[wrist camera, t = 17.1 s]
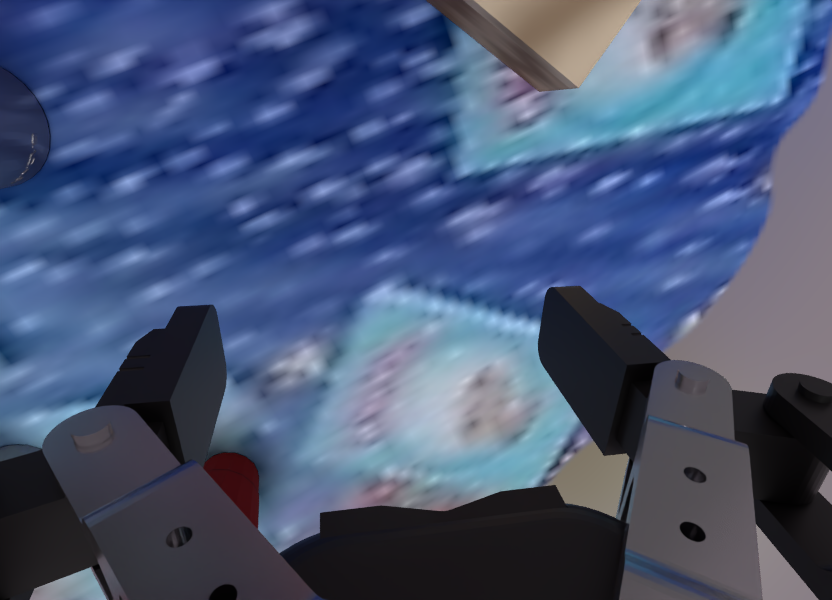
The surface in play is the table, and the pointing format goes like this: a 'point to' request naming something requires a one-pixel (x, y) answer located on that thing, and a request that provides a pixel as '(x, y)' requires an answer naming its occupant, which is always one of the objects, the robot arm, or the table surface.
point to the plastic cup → (237, 481)
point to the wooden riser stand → (542, 34)
